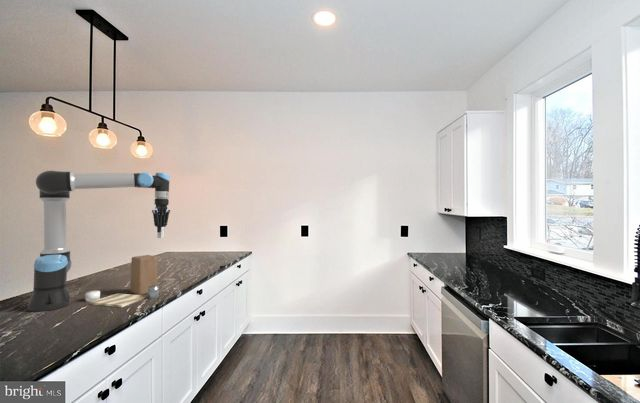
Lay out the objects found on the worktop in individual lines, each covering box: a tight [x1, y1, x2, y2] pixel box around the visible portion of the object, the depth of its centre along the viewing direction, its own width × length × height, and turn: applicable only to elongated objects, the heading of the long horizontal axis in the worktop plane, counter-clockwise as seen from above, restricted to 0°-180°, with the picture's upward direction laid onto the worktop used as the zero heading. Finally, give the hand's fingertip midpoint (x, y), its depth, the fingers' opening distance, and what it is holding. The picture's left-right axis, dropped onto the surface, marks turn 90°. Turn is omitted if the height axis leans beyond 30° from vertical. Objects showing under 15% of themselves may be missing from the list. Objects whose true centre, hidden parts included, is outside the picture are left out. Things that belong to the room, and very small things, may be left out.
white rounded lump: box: [84, 290, 101, 303], centre depth 154 cm, size 6×6×4 cm
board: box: [89, 292, 148, 308], centre depth 153 cm, size 18×16×1 cm
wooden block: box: [129, 254, 159, 295], centre depth 169 cm, size 10×10×20 cm
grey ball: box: [147, 284, 160, 300], centre depth 160 cm, size 5×5×6 cm
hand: (160, 237), depth 181 cm, fingers closed
